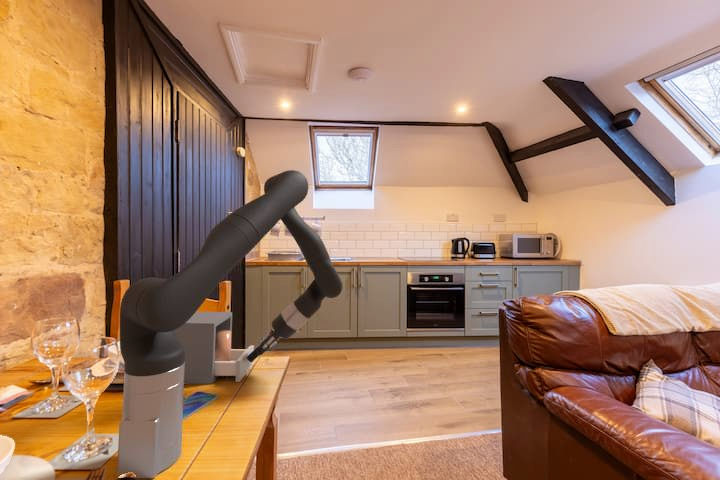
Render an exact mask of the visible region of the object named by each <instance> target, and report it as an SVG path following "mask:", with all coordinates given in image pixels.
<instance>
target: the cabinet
mask: <svg viewBox="0 0 720 480" xmlns="http://www.w3.org/2000/svg"><path fill="white" fill-rule="evenodd" d="M232 325H233V312H232V311H196V312H195V313H194V315H193V316H192V317H191V318H190V319H189V320H188V321H187V322H186V323H185V324H183V325H182V326H181V327H179V328H177V329H175V330H174V331H175V334H176V336H177V338H178V340H179V341H180V342H181V343H182V345H183V346H184V348H185V370H184V385H185V384H186V385H191V384H192V385H194V384H195V385H202V384H203V385H213V384H214V382H216V381H217V379H218V378H219V377H220V376H214V365H215V336H216V332H217V331H222V330H229V331H231V337H232V336H233V335H232V332H233V331H232V330H233V329H232V328H233V326H232Z"/></svg>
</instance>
